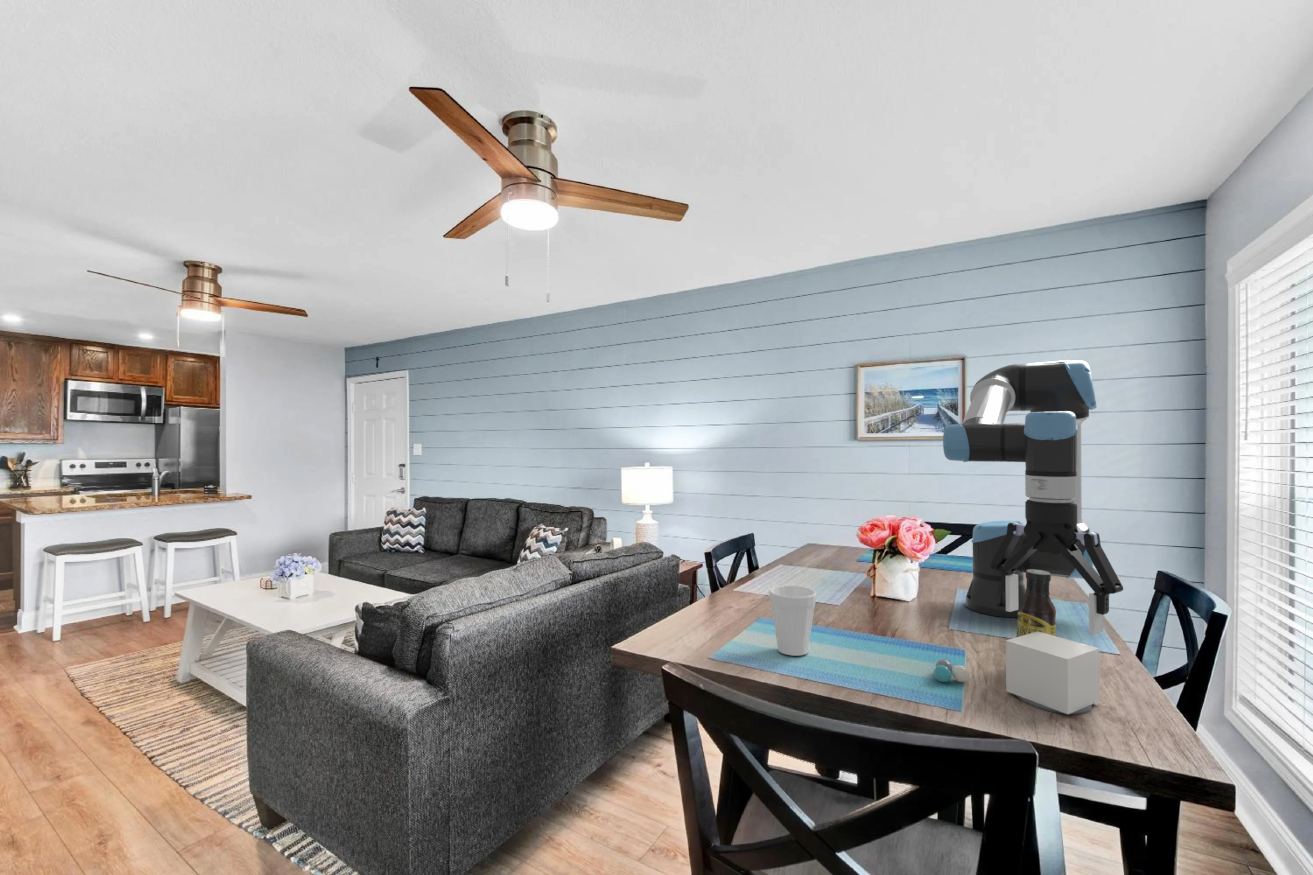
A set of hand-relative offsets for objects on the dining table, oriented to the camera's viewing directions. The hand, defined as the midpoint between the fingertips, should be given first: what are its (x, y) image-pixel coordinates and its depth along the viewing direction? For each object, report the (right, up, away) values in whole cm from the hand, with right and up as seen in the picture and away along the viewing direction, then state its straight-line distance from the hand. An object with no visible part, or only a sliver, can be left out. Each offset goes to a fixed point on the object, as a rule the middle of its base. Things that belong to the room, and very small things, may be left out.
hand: (1051, 620), depth 101 cm
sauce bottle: (+4, -14, +11) cm, 18 cm away
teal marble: (-15, -14, +7) cm, 22 cm away
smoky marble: (-14, -14, +10) cm, 22 cm away
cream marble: (-12, -14, +7) cm, 20 cm away
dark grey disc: (0, -14, 0) cm, 14 cm away
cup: (-40, -14, +23) cm, 48 cm away
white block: (0, -13, 0) cm, 13 cm away
